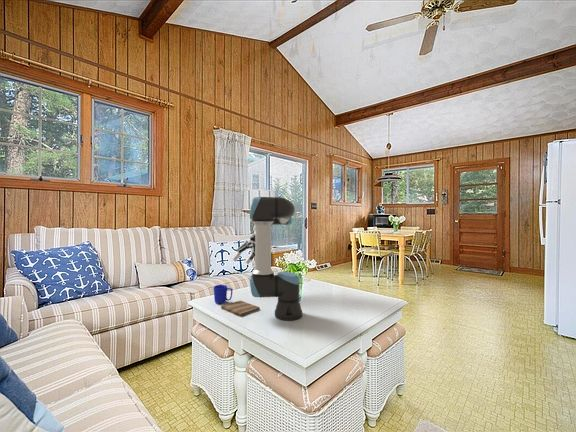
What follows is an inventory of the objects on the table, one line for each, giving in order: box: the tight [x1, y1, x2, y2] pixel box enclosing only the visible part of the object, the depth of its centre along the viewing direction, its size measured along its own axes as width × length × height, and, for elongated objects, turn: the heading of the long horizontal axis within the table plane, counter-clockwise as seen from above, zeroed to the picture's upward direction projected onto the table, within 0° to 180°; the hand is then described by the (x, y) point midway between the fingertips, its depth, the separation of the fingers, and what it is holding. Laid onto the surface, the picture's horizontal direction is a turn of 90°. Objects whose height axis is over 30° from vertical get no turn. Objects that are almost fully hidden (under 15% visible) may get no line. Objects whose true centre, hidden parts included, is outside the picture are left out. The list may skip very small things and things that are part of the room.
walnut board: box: [220, 300, 260, 317], centre depth 162 cm, size 18×14×2 cm
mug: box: [213, 284, 233, 305], centre depth 173 cm, size 8×12×10 cm
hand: (240, 261), depth 183 cm, fingers open, 13 cm apart
